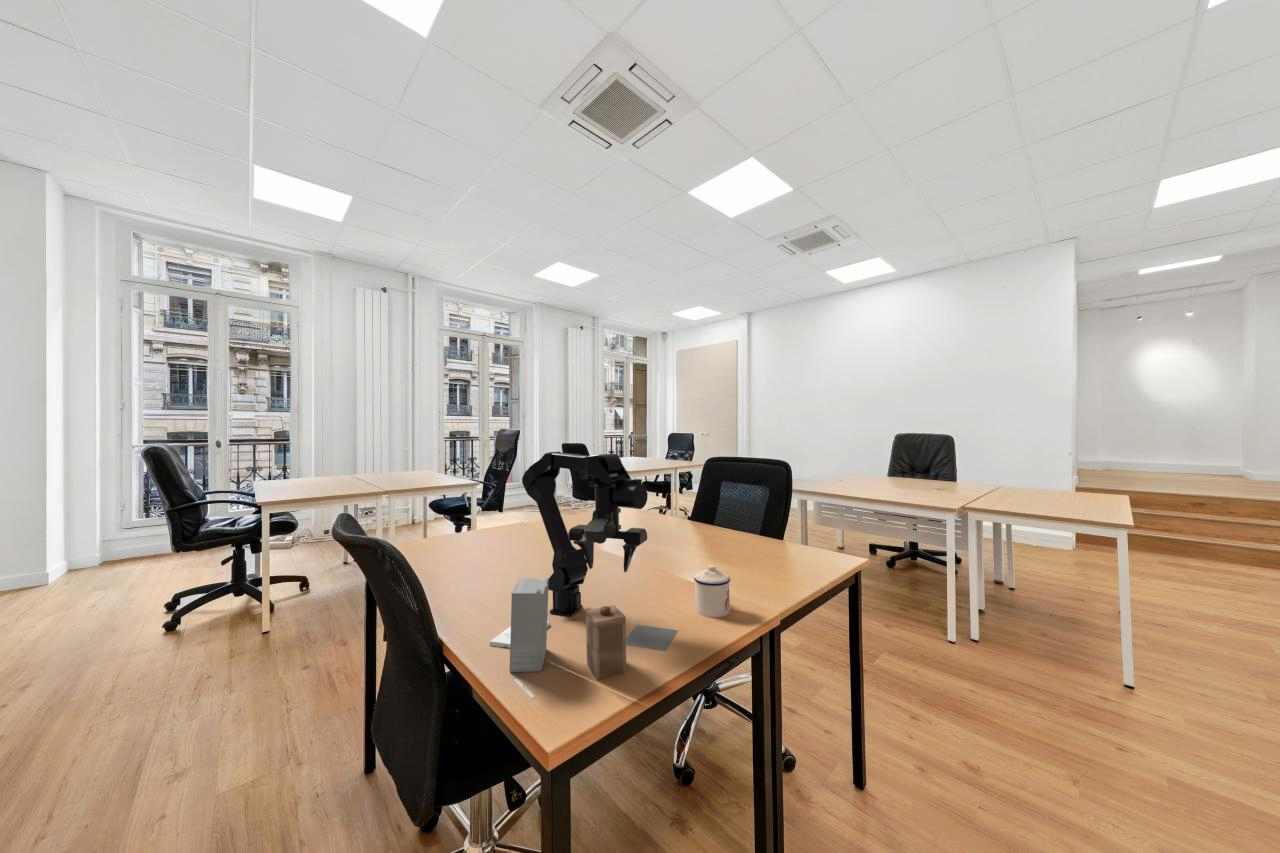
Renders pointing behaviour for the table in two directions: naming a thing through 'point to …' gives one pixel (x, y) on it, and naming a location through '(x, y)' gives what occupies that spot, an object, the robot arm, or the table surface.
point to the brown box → (606, 641)
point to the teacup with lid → (712, 593)
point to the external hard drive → (505, 638)
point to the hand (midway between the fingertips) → (608, 570)
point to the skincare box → (529, 625)
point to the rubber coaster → (651, 637)
